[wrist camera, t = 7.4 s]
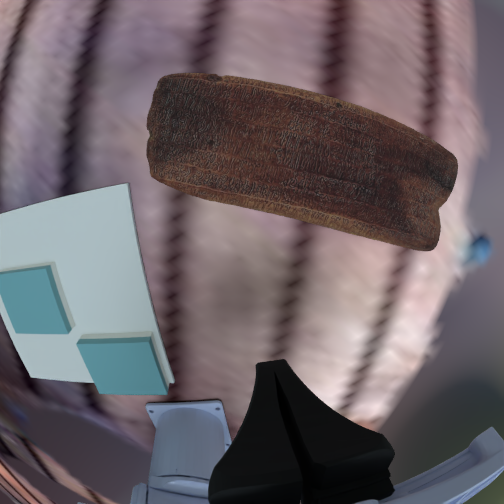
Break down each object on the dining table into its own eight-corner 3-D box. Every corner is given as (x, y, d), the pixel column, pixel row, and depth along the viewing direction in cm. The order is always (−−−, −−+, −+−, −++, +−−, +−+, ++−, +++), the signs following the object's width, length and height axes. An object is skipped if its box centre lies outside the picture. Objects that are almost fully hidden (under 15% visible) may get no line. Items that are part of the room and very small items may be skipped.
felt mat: (174, 379, 25) (174, 382, 25) (32, 375, 24) (31, 377, 23) (128, 182, 19) (127, 183, 19) (-24, 221, 18) (-27, 222, 18)
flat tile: (169, 383, 25) (167, 394, 23) (104, 383, 24) (99, 393, 23) (152, 331, 23) (148, 341, 21) (82, 334, 22) (76, 343, 21)
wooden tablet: (128, 189, 19) (158, 48, 15) (137, 183, 21) (165, 55, 17) (436, 259, 23) (472, 159, 19) (424, 249, 25) (457, 155, 21)
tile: (68, 334, 20) (15, 333, 20) (75, 324, 22) (23, 325, 21) (45, 268, 18) (-7, 275, 18) (54, 261, 20) (3, 268, 20)
